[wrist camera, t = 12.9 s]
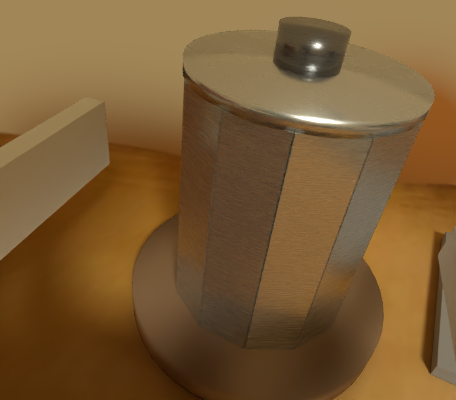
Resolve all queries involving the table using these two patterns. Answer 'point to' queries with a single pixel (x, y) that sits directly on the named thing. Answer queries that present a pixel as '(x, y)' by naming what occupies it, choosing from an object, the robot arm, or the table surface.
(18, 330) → the table surface
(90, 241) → the table surface
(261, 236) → the metal canister with knob
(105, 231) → the table surface
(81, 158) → the robot arm
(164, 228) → the plate
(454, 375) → the mat
